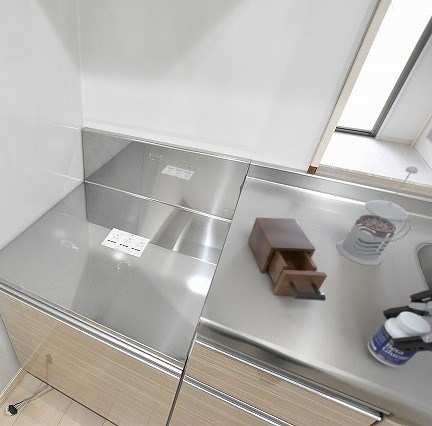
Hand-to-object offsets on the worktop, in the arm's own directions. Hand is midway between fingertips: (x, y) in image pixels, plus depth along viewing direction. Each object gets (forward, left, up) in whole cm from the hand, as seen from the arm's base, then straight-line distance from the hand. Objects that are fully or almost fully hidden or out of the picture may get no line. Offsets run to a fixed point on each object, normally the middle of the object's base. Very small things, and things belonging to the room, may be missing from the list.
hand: (390, 330), depth 51 cm
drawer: (+18, -1, -7) cm, 19 cm away
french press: (+16, -28, -8) cm, 33 cm away
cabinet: (+26, -6, -8) cm, 28 cm away
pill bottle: (-2, -1, -6) cm, 7 cm away
